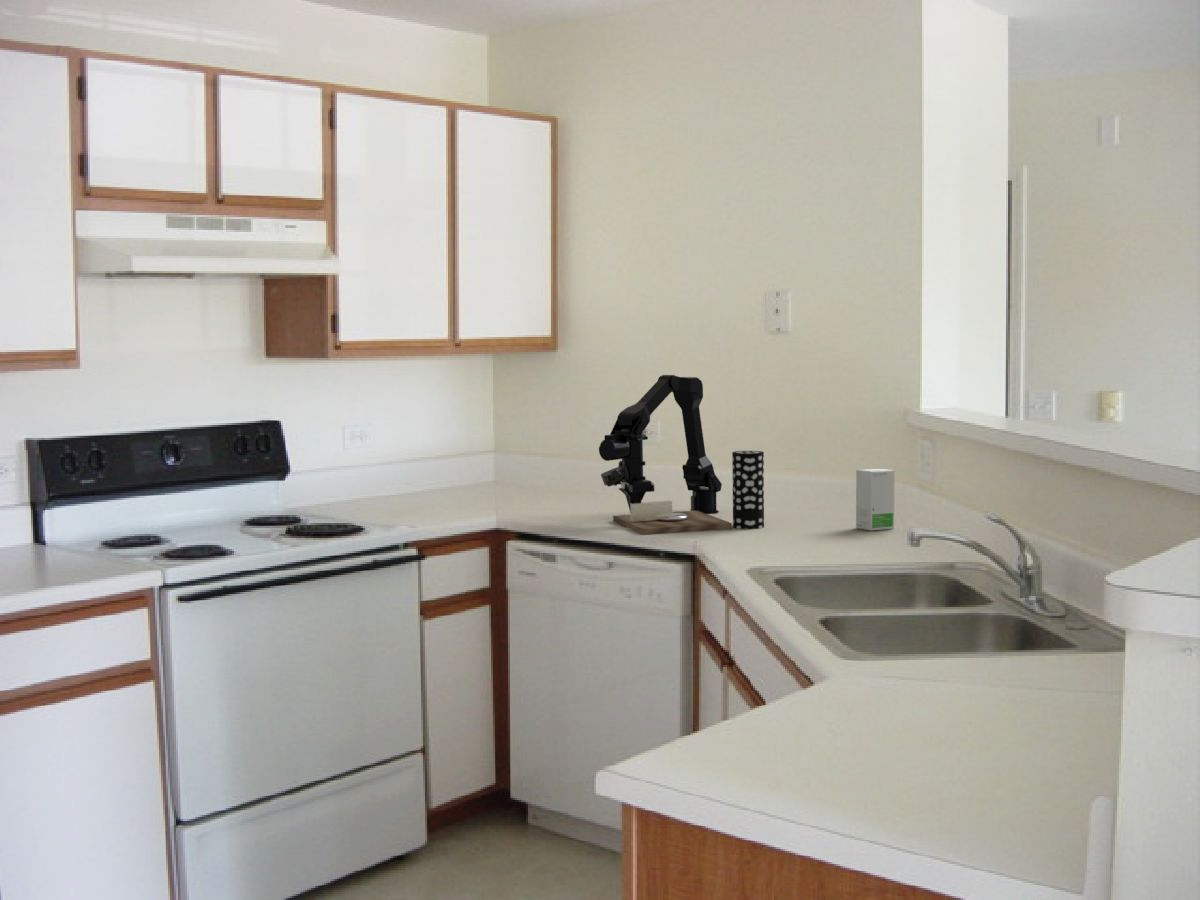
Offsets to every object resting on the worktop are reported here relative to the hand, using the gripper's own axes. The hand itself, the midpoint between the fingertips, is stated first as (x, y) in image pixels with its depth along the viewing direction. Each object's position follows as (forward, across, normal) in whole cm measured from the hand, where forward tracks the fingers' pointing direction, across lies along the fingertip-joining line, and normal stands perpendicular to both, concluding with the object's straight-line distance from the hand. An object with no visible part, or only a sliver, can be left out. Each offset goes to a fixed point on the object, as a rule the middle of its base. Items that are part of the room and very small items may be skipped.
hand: (633, 514), depth 356 cm
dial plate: (+3, +3, +10) cm, 11 cm away
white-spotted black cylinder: (+3, +14, +28) cm, 31 cm away
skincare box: (+3, +30, +57) cm, 64 cm away
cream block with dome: (+1, +3, +6) cm, 7 cm away
